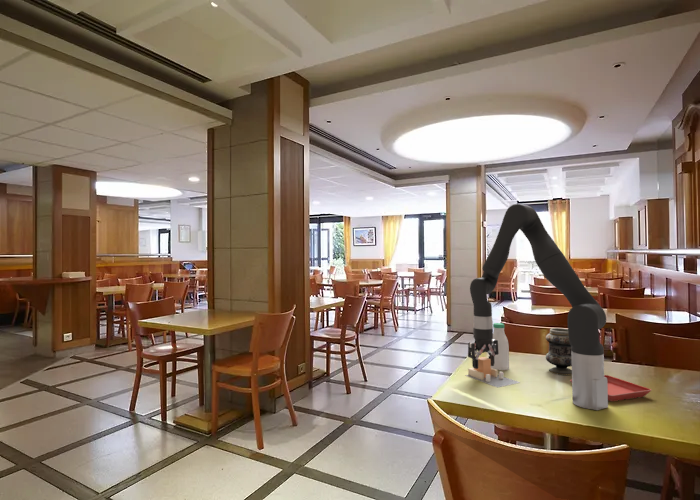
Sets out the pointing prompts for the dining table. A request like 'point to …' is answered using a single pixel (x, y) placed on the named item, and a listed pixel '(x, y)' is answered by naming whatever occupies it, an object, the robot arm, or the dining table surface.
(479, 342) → the robot arm
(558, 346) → the carved stone vase
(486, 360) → the orange rectangular block
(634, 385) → the plant saucer
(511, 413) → the dining table surface
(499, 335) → the milk bottle
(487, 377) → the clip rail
